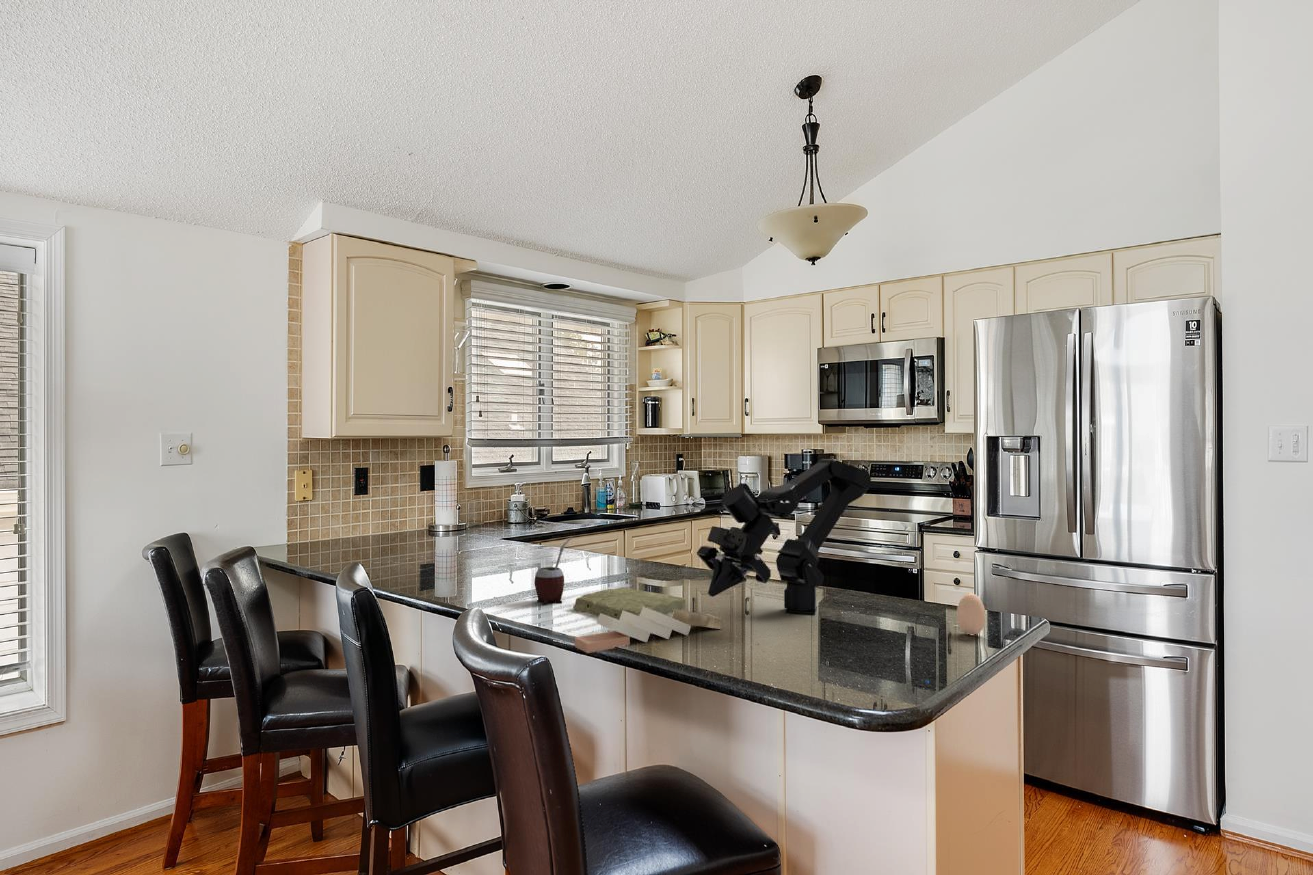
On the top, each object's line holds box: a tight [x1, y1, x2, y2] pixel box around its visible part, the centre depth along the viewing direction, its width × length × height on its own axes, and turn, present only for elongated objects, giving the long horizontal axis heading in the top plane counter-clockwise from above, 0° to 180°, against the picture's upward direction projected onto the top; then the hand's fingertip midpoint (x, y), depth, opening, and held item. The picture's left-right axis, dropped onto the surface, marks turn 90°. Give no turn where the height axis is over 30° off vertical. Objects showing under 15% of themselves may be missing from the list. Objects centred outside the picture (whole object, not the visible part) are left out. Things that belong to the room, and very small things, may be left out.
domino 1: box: [574, 630, 631, 654], centre depth 135 cm, size 2×5×9 cm
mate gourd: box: [534, 537, 572, 606], centre depth 172 cm, size 8×8×15 cm
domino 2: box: [596, 613, 652, 643], centre depth 137 cm, size 2×5×9 cm
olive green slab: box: [572, 586, 687, 620], centre depth 164 cm, size 19×20×4 cm
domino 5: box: [672, 609, 724, 630], centre depth 147 cm, size 2×5×9 cm
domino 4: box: [639, 607, 692, 636], centre depth 142 cm, size 2×5×9 cm
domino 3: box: [619, 610, 673, 640], centre depth 139 cm, size 2×5×9 cm
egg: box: [956, 592, 987, 635], centre depth 142 cm, size 5×5×8 cm
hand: (710, 595), depth 148 cm, fingers closed
